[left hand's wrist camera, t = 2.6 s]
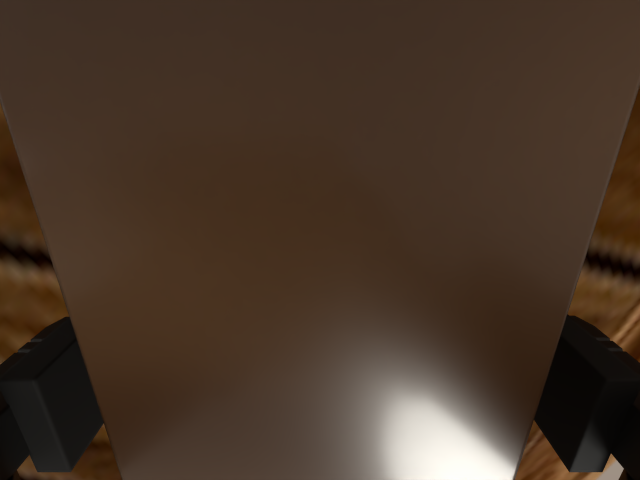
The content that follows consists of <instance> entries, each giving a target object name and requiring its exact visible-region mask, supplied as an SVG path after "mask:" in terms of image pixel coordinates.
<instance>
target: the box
mask: <svg viewBox="0 0 640 480" xmlns="http://www.w3.org/2000/svg"><path fill="white" fill-rule="evenodd" d="M639 86H640V0H0V102H1V105H2V109H3V112H4V115H5V118H6V121H7V124H8V127H9V130H10V133H11V136H12V140H13V143H14V146H15V149H16V152H17V155H18V158H19V161H20V164H21V167H22V171H23V174H24V177H25V180H26V183H27V186H28V189H29V192H30V195H31V198H32V202H33V205H34V208H35V211H36V214H37V217H38V220H39V223H40V226H41V230H42V233H43V236H44V239H45V242H46V245H47V248H48V251H49V254H50V257H51V261H52V264H53V267H54V270H55V273H56V276H57V279H58V282H59V285H60V288H61V292H62V295H63V298H64V301H65V304H66V307H67V310H68V313H69V316H70V319H71V323H72V326H73V329H74V332H75V335H76V338H77V341H78V344H79V347H80V350H81V354H82V357H83V360H84V363H85V366H86V369H87V372H88V375H89V378H90V381H91V385H92V388H93V391H94V394H95V397H96V400H97V403H98V406H99V409H100V412H101V416H102V419H103V422H104V425H105V428H106V431H107V434H108V437H109V440H110V444H111V447H112V450H113V453H114V456H115V459H116V462H117V465H118V468H119V471H120V475H121V478H122V480H515V477H516V474H517V471H518V468H519V465H520V461H521V458H522V455H523V452H524V449H525V446H526V442H527V439H528V436H529V433H530V430H531V427H532V424H533V420H534V417H535V414H536V411H537V408H538V405H539V401H540V398H541V395H542V392H543V389H544V386H545V383H546V379H547V376H548V373H549V370H550V367H551V364H552V360H553V357H554V354H555V351H556V348H557V345H558V342H559V338H560V335H561V332H562V329H563V326H564V323H565V319H566V316H567V313H568V310H569V307H570V304H571V301H572V297H573V294H574V291H575V288H576V285H577V282H578V278H579V275H580V272H581V269H582V266H583V263H584V260H585V256H586V253H587V250H588V247H589V244H590V241H591V238H592V234H593V231H594V228H595V225H596V222H597V219H598V215H599V212H600V209H601V206H602V203H603V200H604V197H605V193H606V190H607V187H608V184H609V181H610V178H611V174H612V171H613V168H614V165H615V162H616V159H617V156H618V152H619V149H620V146H621V143H622V140H623V137H624V133H625V130H626V127H627V124H628V121H629V118H630V115H631V111H632V108H633V105H634V102H635V99H636V96H637V92H638V89H639Z"/></svg>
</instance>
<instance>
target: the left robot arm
mask: <svg viewBox="0 0 640 480" xmlns="http://www.w3.org/2000/svg"><path fill="white" fill-rule="evenodd" d="M534 420H535V422H536V423H537V425H538V426H539V428H540V429H541V431H542V432H543V434H544V435H545V437H546V438H547V440H548V441H549V443H550V444H551V446H552V447H553V448H554V450H555V451H556V453H557V454H558V456H559V457H560V459H561V460H562V462H563V463H564V465H565V466H566V468H567V469H568V471H569V472H603V470H604V467H605V465H606V463H607V461H608V459H609V456H610V454H612V455H613V456H614V457H615V458H616V460H617V461H618V462H619V463H620V464H621V466H622V467H623V468H624V470H623V472H622V474H621V476H620V478H619V480H640V363H639V362H638V361H637V360H635V359H634V358H633V357H632V356H630V355H629V354H628V353H627V352H623V351H622V348H621V347H619V346H618V345H617V344H616V343H615V342H613V341H610V338H608V337H607V336H606V335H605V334H603V333H602V332H601V331H600V330H599V329H597V328H596V327H595V326H593V325H591V324H589V323H588V322H586V321H584V320H582V319H580V318H578V317H576V316H569V315H568V314H567V316H566V319H565V323H564V326H563V329H562V332H561V335H560V338H559V342H558V345H557V348H556V351H555V354H554V357H553V360H552V364H551V367H550V370H549V373H548V376H547V379H546V383H545V386H544V389H543V392H542V395H541V398H540V401H539V405H538V408H537V411H536V414H535V417H534ZM103 423H104V422H103V419H102V416H101V412H100V409H99V406H98V403H97V400H96V397H95V394H94V391H93V388H92V385H91V381H90V378H89V375H88V372H87V369H86V366H85V363H84V360H83V357H82V354H81V350H80V347H79V344H78V341H77V338H76V335H75V332H74V329H73V326H72V323H71V319H70V317H64V318H63V319H61V320H59V321H57V322H55V323H53V324H51V325H49V326H48V327H46V328H45V329H43V330H42V331H41V332H40V333H38V334H37V335H36V336H35V337H34V338H32V339H31V342H28V343H26V344H25V345H24V346H23V347H21V348H20V349H19V350H18V353H14V354H13V355H12V356H10V357H9V358H8V359H7V360H6V361H4V362H3V363H2V364H1V365H0V480H20V477H19V474H18V472H17V469H18V468H19V466H20V465H21V464H22V463H23V462H24V460H25V459H26V458H27V457H28V456H29V454H30V456H31V459H32V461H33V463H34V465H35V467H36V470H37V472H71V471H72V469H73V468H74V466H75V465H76V463H77V462H78V460H79V459H80V457H81V456H82V454H83V453H84V451H85V450H86V448H87V447H88V446H89V444H90V443H91V441H92V440H93V438H94V437H95V435H96V434H97V432H98V431H99V429H100V428H101V426H102V425H103Z"/></svg>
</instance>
